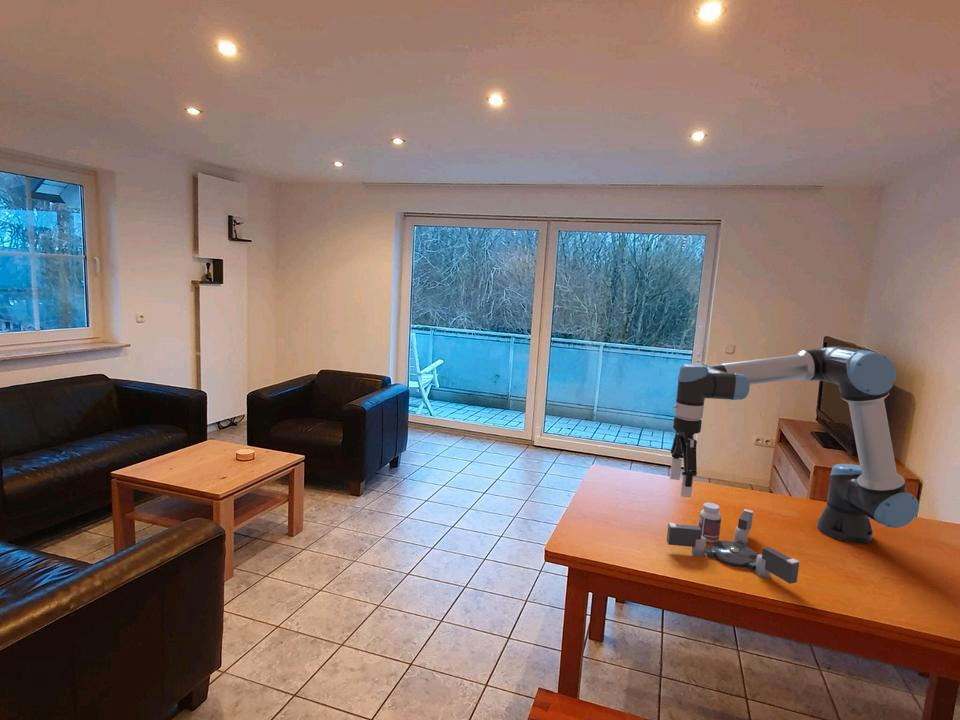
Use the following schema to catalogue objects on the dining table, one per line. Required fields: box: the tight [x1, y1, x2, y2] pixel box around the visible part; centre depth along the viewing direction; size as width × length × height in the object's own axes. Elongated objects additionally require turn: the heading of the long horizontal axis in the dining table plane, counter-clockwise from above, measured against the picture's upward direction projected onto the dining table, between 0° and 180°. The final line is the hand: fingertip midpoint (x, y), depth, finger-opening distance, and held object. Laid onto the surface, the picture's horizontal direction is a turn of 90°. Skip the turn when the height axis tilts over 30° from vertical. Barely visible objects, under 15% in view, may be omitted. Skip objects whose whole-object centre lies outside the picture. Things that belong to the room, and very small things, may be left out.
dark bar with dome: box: [666, 522, 707, 557], centre depth 159 cm, size 11×4×8 cm, turn 83°
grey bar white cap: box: [754, 546, 800, 585], centre depth 145 cm, size 11×4×8 cm, turn 23°
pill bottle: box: [698, 502, 722, 544], centre depth 168 cm, size 6×6×11 cm
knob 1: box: [733, 508, 754, 547], centre depth 168 cm, size 11×4×8 cm, turn 143°
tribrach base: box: [704, 540, 757, 572], centre depth 158 cm, size 14×15×3 cm
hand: (680, 487), depth 158 cm, fingers open, 13 cm apart
